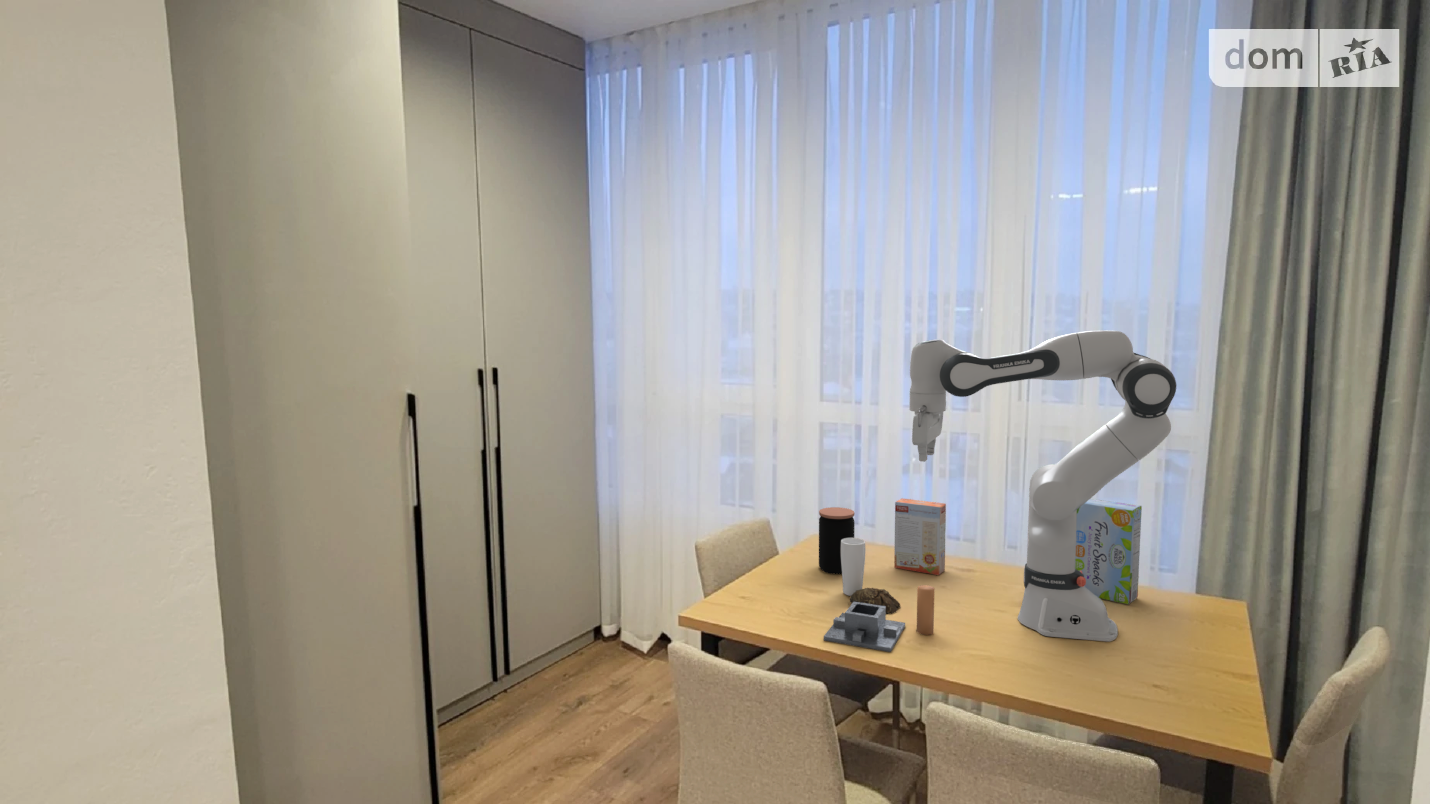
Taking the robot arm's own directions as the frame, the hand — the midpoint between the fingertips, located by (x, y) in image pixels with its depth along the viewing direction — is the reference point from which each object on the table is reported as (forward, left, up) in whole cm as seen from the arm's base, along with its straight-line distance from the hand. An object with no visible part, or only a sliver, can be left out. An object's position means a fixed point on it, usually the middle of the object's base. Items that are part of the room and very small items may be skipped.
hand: (926, 457), depth 196 cm
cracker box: (+7, -33, -41) cm, 53 cm away
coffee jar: (+30, -23, -41) cm, 56 cm away
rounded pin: (-3, +13, -41) cm, 43 cm away
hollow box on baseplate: (+10, +20, -41) cm, 46 cm away
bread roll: (+12, +1, -41) cm, 43 cm away
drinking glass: (+20, -5, -41) cm, 46 cm away
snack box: (-40, -33, -41) cm, 66 cm away
